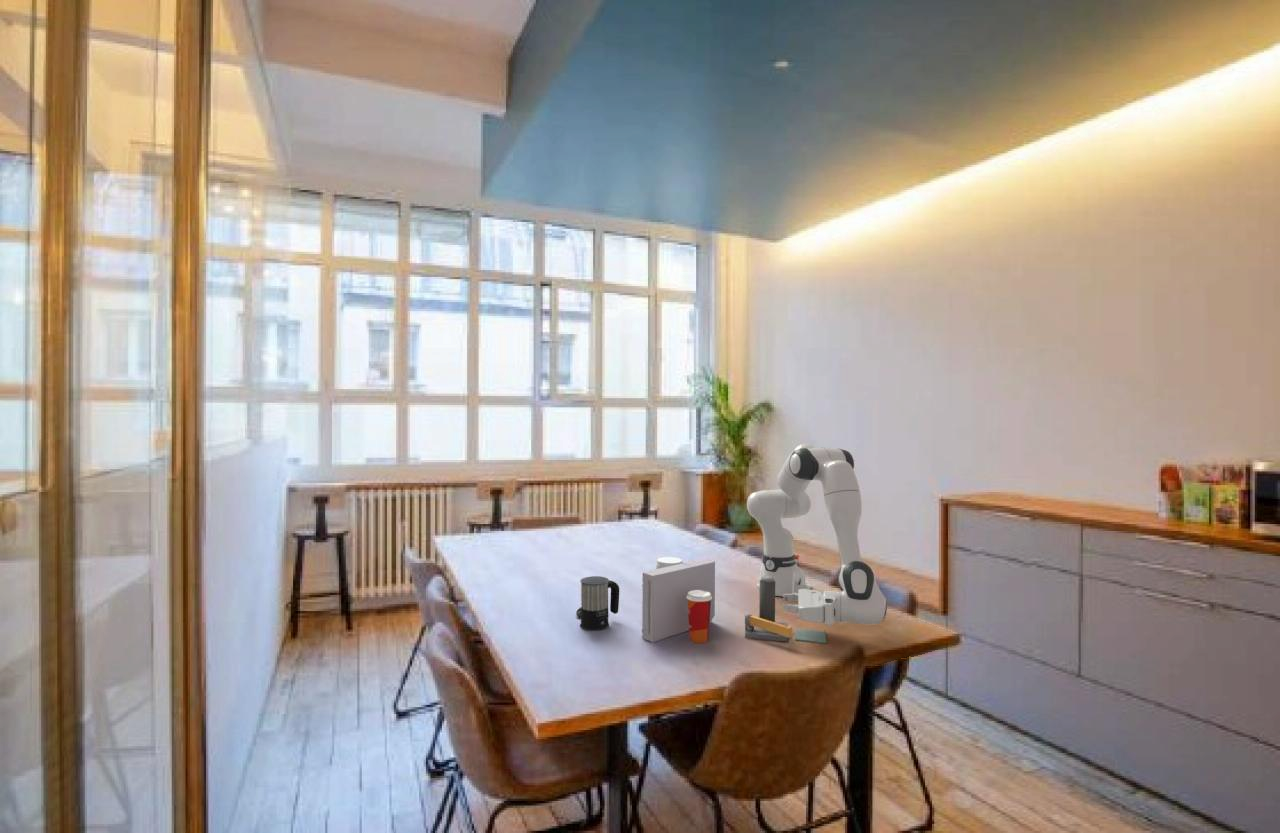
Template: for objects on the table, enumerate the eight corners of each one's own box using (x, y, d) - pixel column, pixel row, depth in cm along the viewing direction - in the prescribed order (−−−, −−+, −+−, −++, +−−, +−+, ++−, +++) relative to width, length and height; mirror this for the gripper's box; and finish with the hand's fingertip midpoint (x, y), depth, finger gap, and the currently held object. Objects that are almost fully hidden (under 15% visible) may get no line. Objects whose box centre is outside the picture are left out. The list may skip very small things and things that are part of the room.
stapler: (743, 623, 185) (743, 615, 185) (747, 621, 186) (747, 613, 186) (787, 637, 173) (787, 628, 173) (792, 635, 175) (792, 626, 175)
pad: (795, 629, 189) (795, 628, 189) (825, 632, 186) (825, 631, 186) (795, 640, 180) (795, 639, 180) (826, 643, 178) (826, 642, 178)
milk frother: (596, 633, 185) (597, 585, 185) (558, 623, 194) (558, 577, 194) (623, 620, 197) (623, 575, 197) (585, 611, 206) (586, 568, 206)
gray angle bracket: (748, 623, 194) (748, 619, 194) (788, 627, 191) (788, 622, 191) (745, 637, 182) (745, 632, 182) (787, 641, 179) (787, 637, 179)
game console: (639, 637, 182) (639, 571, 182) (701, 617, 200) (702, 558, 200) (651, 642, 178) (652, 575, 178) (714, 622, 195) (715, 561, 195)
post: (745, 632, 186) (745, 622, 186) (751, 633, 185) (751, 623, 185) (744, 635, 184) (744, 624, 184) (751, 635, 184) (751, 625, 184)
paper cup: (695, 633, 186) (695, 587, 186) (716, 639, 181) (716, 592, 181) (680, 640, 180) (681, 593, 180) (702, 646, 175) (702, 598, 175)
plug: (755, 626, 192) (755, 573, 191) (780, 629, 189) (781, 575, 189) (753, 635, 184) (753, 580, 184) (779, 638, 182) (780, 582, 182)
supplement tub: (651, 601, 216) (651, 561, 216) (661, 594, 225) (661, 555, 225) (676, 605, 212) (677, 564, 212) (686, 598, 221) (686, 558, 221)
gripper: (827, 585, 192) (783, 582, 196) (831, 605, 172) (781, 601, 176) (827, 605, 192) (783, 601, 196) (831, 627, 172) (781, 623, 176)
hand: (782, 601), depth 185 cm, fingers open, 8 cm apart
